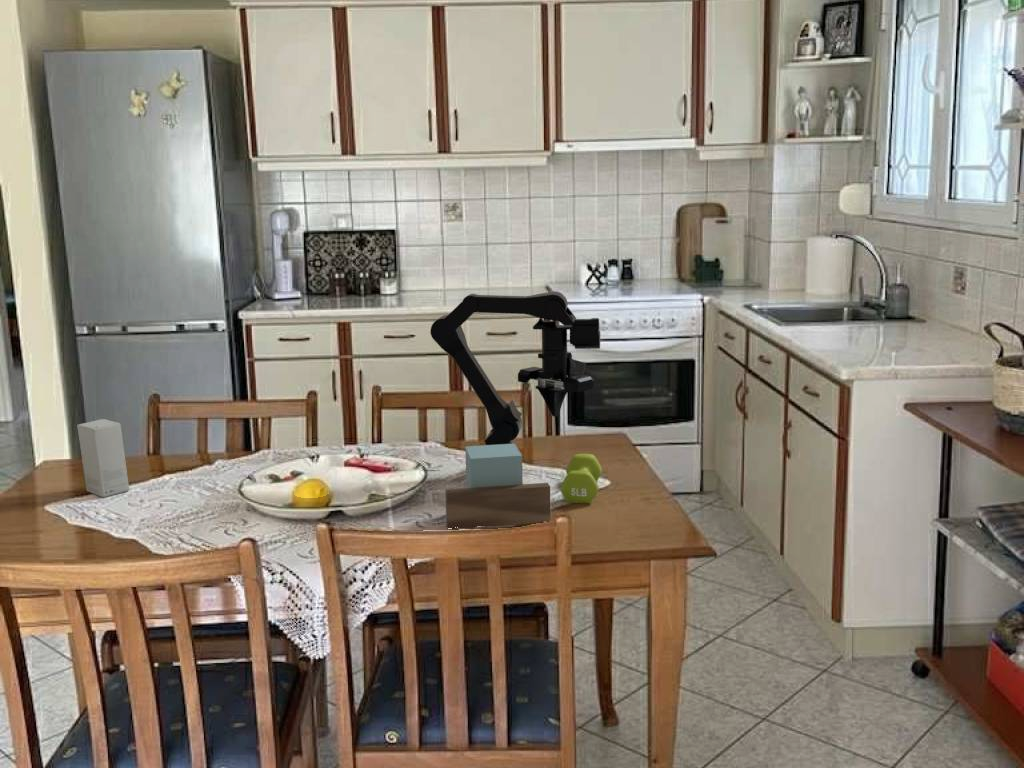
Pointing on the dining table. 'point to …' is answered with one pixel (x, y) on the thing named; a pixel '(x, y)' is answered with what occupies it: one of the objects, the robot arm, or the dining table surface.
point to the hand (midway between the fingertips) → (555, 416)
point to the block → (493, 465)
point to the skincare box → (103, 457)
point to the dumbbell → (581, 479)
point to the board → (498, 505)
